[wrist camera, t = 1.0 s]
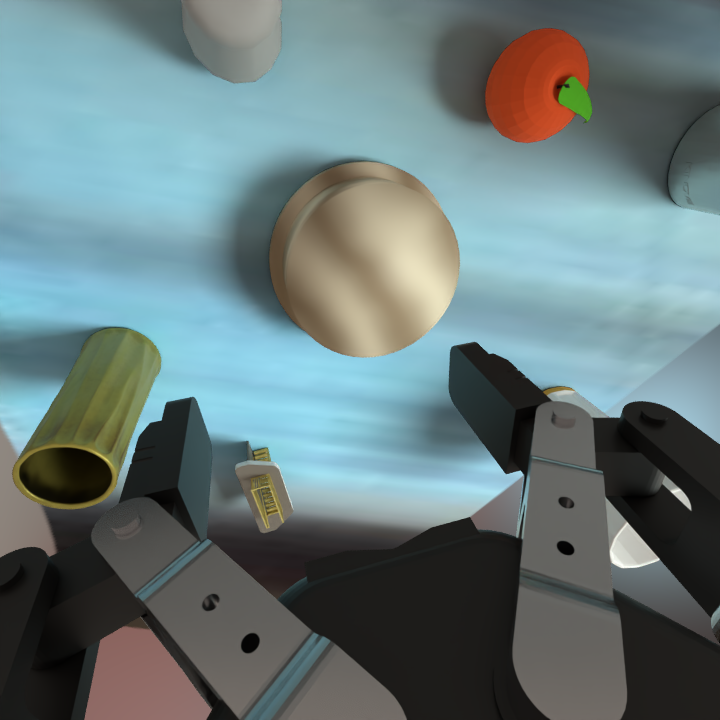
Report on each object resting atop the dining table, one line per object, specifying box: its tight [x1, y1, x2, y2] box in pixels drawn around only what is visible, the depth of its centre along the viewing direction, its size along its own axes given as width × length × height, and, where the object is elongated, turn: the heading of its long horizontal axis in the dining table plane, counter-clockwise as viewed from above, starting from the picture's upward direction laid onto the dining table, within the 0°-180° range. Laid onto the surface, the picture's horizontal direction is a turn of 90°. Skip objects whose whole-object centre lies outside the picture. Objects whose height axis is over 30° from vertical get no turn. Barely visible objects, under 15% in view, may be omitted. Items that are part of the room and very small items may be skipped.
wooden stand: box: [269, 161, 460, 357], centre depth 35 cm, size 16×16×5 cm
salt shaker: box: [181, 0, 282, 83], centre depth 22 cm, size 6×6×13 cm
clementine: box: [485, 28, 592, 143], centre depth 31 cm, size 8×7×7 cm
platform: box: [235, 441, 293, 533], centre depth 44 cm, size 12×18×7 cm, turn 8°
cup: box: [543, 387, 691, 568], centre depth 46 cm, size 11×11×17 cm
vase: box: [12, 328, 161, 509], centre depth 30 cm, size 6×6×14 cm
